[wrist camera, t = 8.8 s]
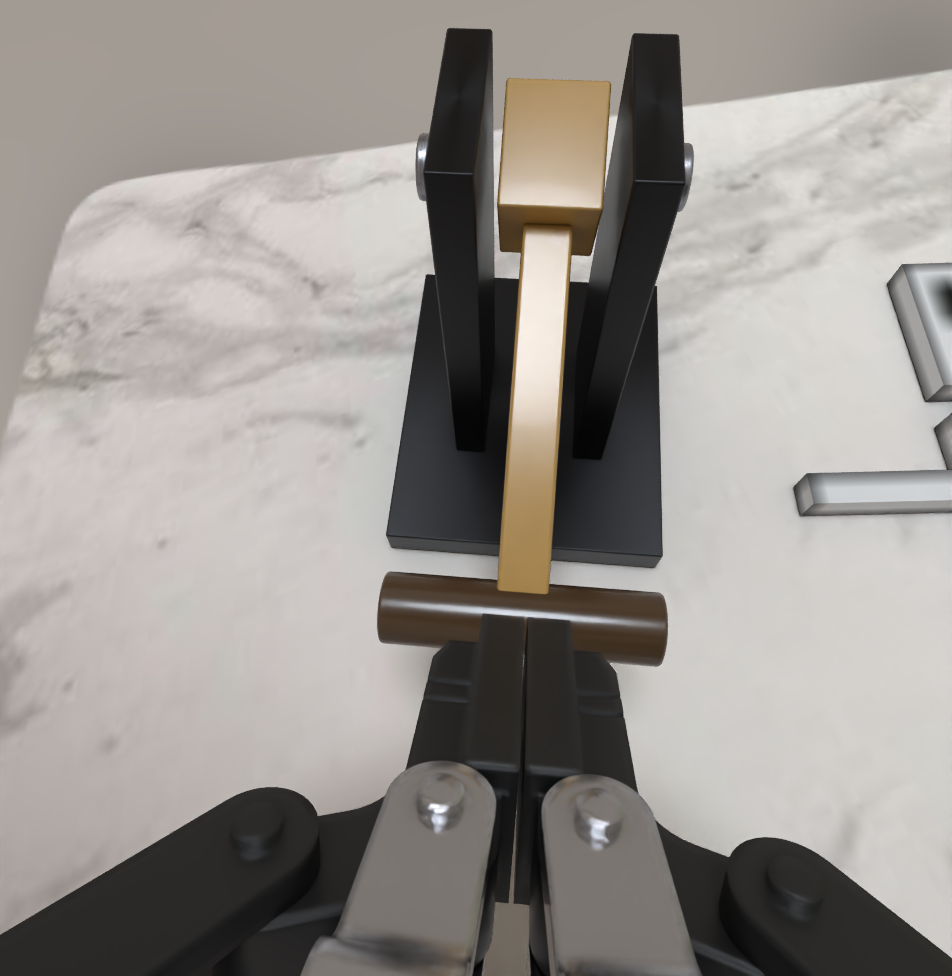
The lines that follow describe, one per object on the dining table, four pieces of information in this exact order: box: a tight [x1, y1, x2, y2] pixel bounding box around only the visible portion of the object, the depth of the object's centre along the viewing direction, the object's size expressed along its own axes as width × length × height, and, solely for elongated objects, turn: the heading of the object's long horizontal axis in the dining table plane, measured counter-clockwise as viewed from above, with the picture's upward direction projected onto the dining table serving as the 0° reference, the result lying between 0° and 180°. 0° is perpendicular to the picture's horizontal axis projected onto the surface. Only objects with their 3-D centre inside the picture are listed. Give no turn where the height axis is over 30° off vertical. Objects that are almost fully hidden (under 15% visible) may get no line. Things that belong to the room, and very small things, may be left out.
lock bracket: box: [386, 28, 694, 567], centre depth 20 cm, size 11×9×13 cm
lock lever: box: [377, 78, 668, 667], centre depth 15 cm, size 12×6×2 cm, turn 175°
